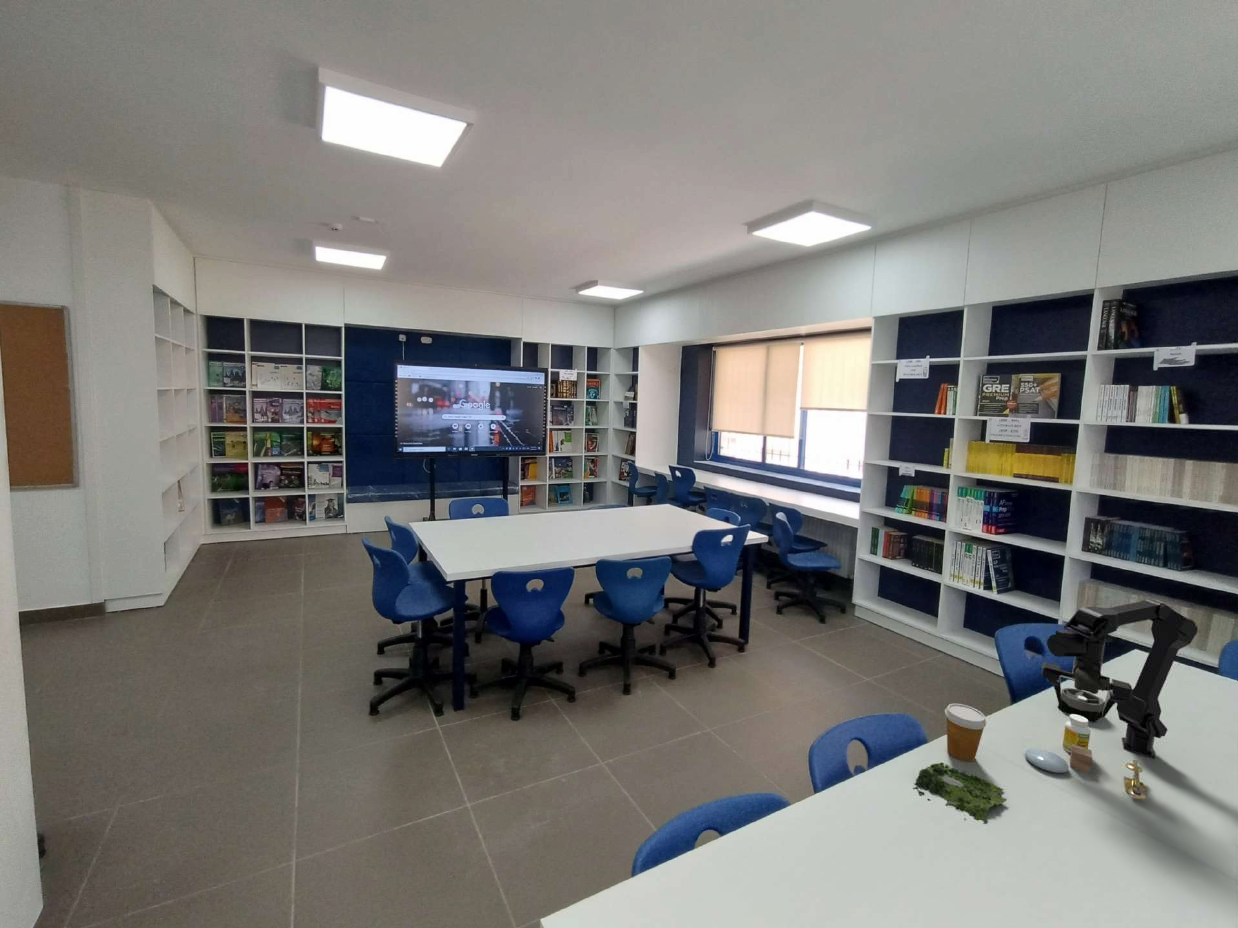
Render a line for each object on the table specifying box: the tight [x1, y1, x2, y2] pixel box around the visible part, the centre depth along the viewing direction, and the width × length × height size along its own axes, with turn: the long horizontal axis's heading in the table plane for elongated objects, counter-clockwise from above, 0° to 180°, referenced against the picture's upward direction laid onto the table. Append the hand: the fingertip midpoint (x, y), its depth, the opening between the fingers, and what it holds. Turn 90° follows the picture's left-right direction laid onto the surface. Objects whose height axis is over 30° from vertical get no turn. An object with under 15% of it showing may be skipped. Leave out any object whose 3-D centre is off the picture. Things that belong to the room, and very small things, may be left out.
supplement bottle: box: [1062, 714, 1091, 754], centre depth 154 cm, size 5×5×10 cm
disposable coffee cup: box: [944, 703, 987, 763], centre depth 150 cm, size 10×10×12 cm
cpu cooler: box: [1057, 687, 1105, 724], centre depth 175 cm, size 10×6×10 cm
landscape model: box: [912, 762, 1007, 824], centre depth 135 cm, size 17×21×5 cm
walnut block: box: [1069, 744, 1093, 774], centre depth 148 cm, size 4×4×4 cm
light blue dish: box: [1024, 747, 1069, 774], centre depth 148 cm, size 9×9×2 cm
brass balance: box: [1123, 759, 1147, 800], centre depth 140 cm, size 13×4×5 cm, turn 142°
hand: (1080, 710), depth 153 cm, fingers open, 9 cm apart
